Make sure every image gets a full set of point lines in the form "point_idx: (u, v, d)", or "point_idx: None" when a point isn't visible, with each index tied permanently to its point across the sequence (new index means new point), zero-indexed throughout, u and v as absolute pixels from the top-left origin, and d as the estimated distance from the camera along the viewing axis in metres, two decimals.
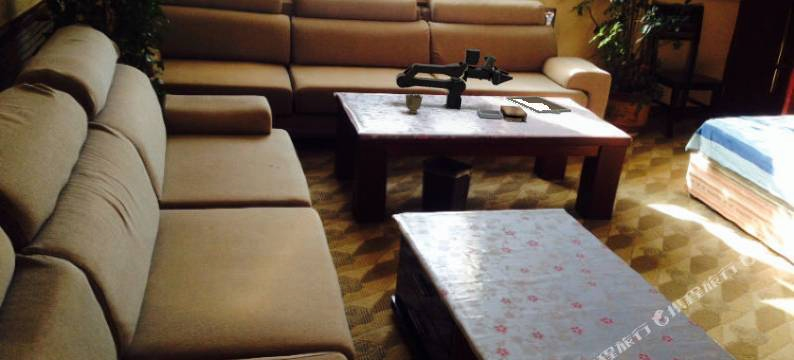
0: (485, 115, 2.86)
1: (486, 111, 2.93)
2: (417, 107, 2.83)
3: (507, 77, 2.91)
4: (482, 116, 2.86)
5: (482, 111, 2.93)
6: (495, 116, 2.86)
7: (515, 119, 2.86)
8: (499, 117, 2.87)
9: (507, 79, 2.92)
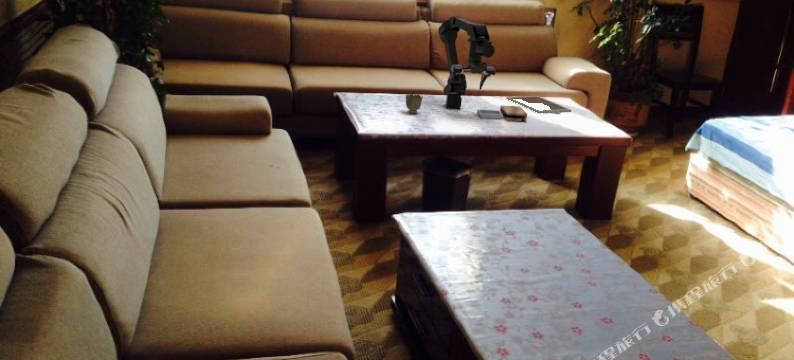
0: (485, 115, 2.86)
1: (486, 111, 2.93)
2: (417, 107, 2.83)
3: (460, 82, 2.84)
4: (482, 116, 2.86)
5: (482, 111, 2.93)
6: (495, 116, 2.86)
7: (515, 119, 2.86)
8: (499, 117, 2.87)
9: (460, 82, 2.84)
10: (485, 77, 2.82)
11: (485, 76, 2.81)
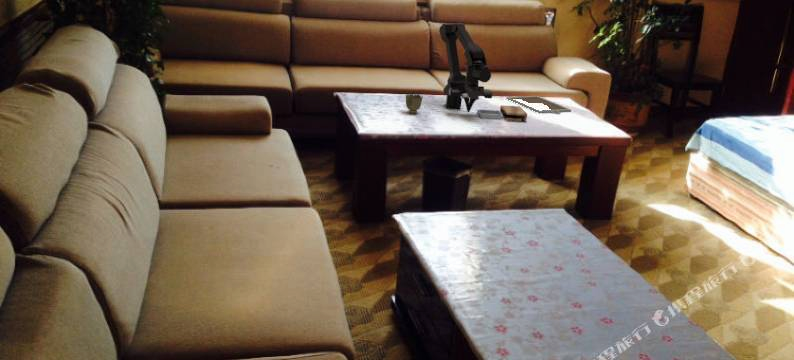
0: (485, 115, 2.86)
1: (486, 111, 2.93)
2: (417, 107, 2.83)
3: (466, 105, 2.88)
4: (482, 116, 2.86)
5: (482, 111, 2.93)
6: (495, 116, 2.86)
7: (515, 119, 2.86)
8: (499, 117, 2.87)
9: (466, 105, 2.89)
10: (473, 100, 2.85)
11: (473, 99, 2.84)
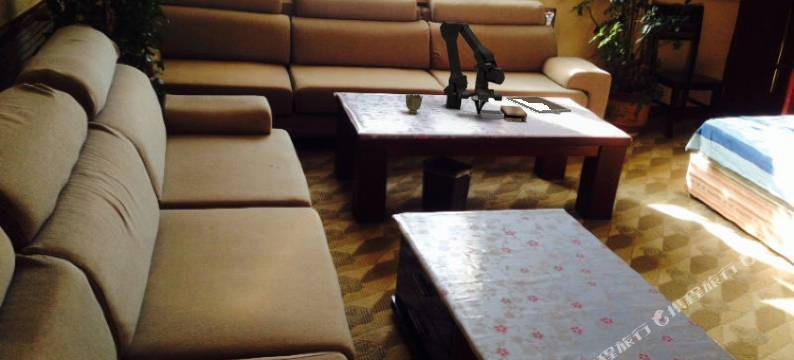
0: (486, 115, 2.86)
1: (487, 111, 2.93)
2: (417, 107, 2.83)
3: (476, 108, 2.88)
4: (483, 116, 2.86)
5: (483, 111, 2.93)
6: (496, 116, 2.87)
7: (515, 119, 2.86)
8: (500, 117, 2.87)
9: (476, 108, 2.89)
10: (483, 102, 2.86)
11: (483, 101, 2.85)
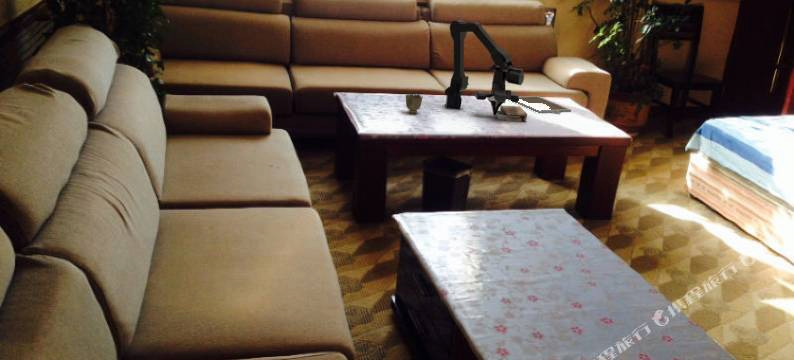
0: (502, 116, 2.87)
1: (503, 112, 2.94)
2: (417, 107, 2.83)
3: (492, 109, 2.89)
4: (499, 117, 2.87)
5: (499, 112, 2.94)
6: (512, 117, 2.87)
7: (515, 119, 2.86)
8: None
9: (492, 109, 2.90)
10: (500, 103, 2.86)
11: (500, 102, 2.86)
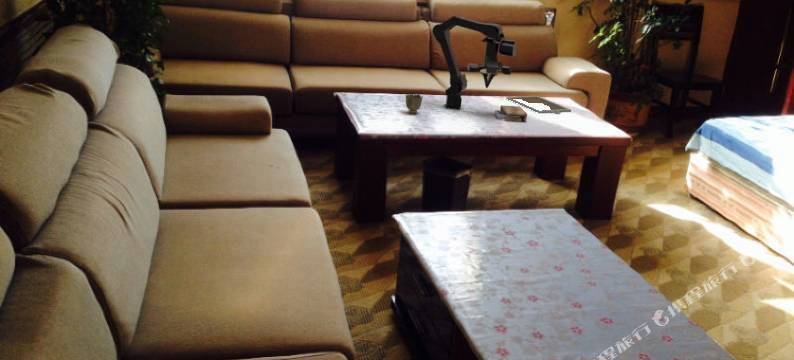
0: (502, 116, 2.87)
1: (503, 112, 2.94)
2: (417, 107, 2.83)
3: (484, 81, 2.90)
4: (499, 117, 2.87)
5: (499, 112, 2.94)
6: (512, 117, 2.87)
7: (515, 119, 2.86)
8: None
9: (484, 81, 2.91)
10: (492, 76, 2.87)
11: (492, 75, 2.87)
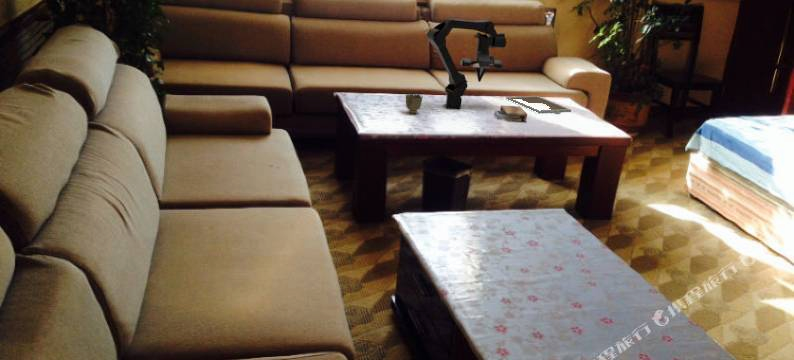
0: (502, 116, 2.87)
1: (503, 112, 2.94)
2: (417, 107, 2.83)
3: (477, 75, 3.00)
4: (499, 117, 2.87)
5: (499, 112, 2.94)
6: (512, 117, 2.87)
7: (515, 119, 2.86)
8: None
9: (477, 75, 3.01)
10: (484, 70, 2.98)
11: (484, 69, 2.97)
